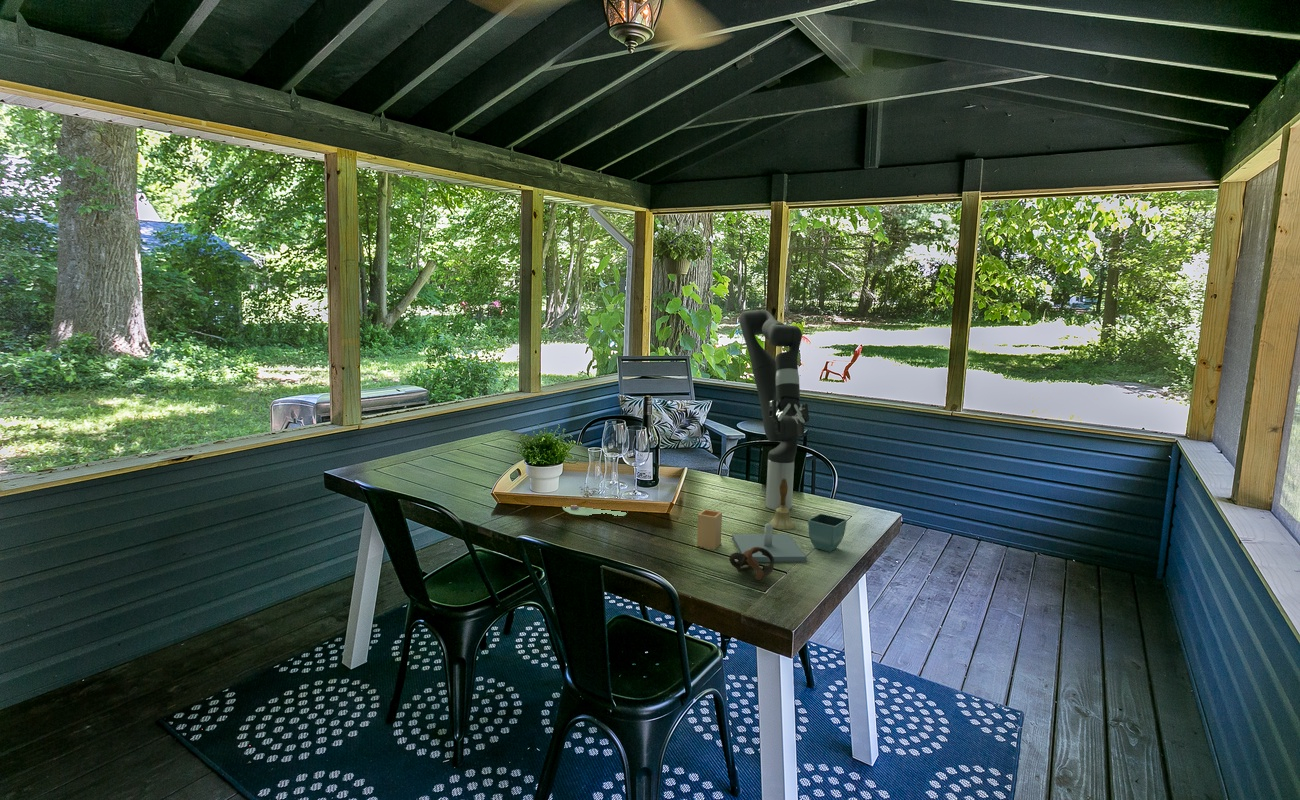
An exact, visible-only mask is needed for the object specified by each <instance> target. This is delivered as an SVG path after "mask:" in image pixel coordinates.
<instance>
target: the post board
mask: <svg viewBox="0 0 1300 800" xmlns="http://www.w3.org/2000/svg"><path fill="white" fill-rule="evenodd" d="M763 531H764V533H743V534H741V533H739V534H737V533H735V534H734V533H732V534H731V540H732V542H733V544H734V543H735V544H734V545H736V546H735V547H737V548H736V549H737V551H738V553H741V554H743V553H744V552H745V551H747V550H750V549H751V548H753V547H760V548H764V549H766V550H767V551H769V552H770V553H771V554H772V556H773V558H774V563H783V562H784V563H785V562H787V563H788V562H789V563H793V562H795V563H799V562H800V563H801V562H807V559H808V557H807V555H806V553H805V552H804V551H803V550H802V548H801V547H800V545H799V544H798V543H797V542H796V541H795V540H794V538H793V536H791V534H790V533H773V531H774V528H773V526H772V524H770V522H767V523H765V525H764V530H763ZM752 556H753V558H754V560H756V562H757V563H771V562H770V559H769V557H767V556H764V555H762V553H761V552H760V551H758V552H756V553H754V554H752Z"/></svg>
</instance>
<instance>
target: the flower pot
mask: <svg viewBox="0 0 1300 800" xmlns="http://www.w3.org/2000/svg"><path fill="white" fill-rule="evenodd" d="M847 522H848V520H847V519H846V518H842V517H837V516H833V515H828V514H825V513H818V514H816V515H815V516H813V517H811V518H809V519H808V520H807V523H808V527H807V529H808V535H809V536H808V537H809V540H810V542H811V544H812V545H813V547H814V549H817V550H821V551H824V552H829V553H830V552H833V551H834V550H835V549H837V548H838V547H839V546H840V544H841V542H842V540H843V538H844V537H845V531H846V528H847Z"/></svg>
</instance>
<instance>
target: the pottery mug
mask: <svg viewBox="0 0 1300 800" xmlns="http://www.w3.org/2000/svg"><path fill="white" fill-rule="evenodd" d="M758 551H760V552H761V553H762V555H764V556H767V557H769V559H770V562H769V564H768V565H763V566H762V568H761V567H760V565H761V564H760V562H756V560H754V558H753V556H752V554H754V553H756V552H758ZM736 560H738V561H736ZM729 563H730V564H731V566H732V567H734V568H735V569H736V570H737V572H741V568H742V567H745V566H748V567H751V568H752V570H754V571H756V573H755V574H754V580H757V581H761V580H762V579H763V578H766V577H768V576H769V575H771V574H772V573H773V570H774V564H775V562H774V558H773V556H772V554H771V553H770V552H769V551H767V550H766V549H764V548H760V547H753V548H751V549H750V550H747V551H745V552H744V553H743V554H741V553H739V551H738V552H733V553H731V555H730V556H729Z"/></svg>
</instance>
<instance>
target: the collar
mask: <svg viewBox="0 0 1300 800" xmlns="http://www.w3.org/2000/svg"><path fill="white" fill-rule="evenodd" d="M722 521H723V512H722V511H719V510H718V511H717V510H712V509H711V510H710V509H707V508H706V509H703V510H701V512H699V513H698V514H697V529H696V531H697V532H696V534H697V535H696V547H697V546H700V547H699V548H702V547H704V548H703V549H707V548H709V549H708V550H712V549H713V550H712V551H715V550H716V549H717V548H718V547H719V546H720V545H722V529H723V528H722V525H723V523H722Z"/></svg>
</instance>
